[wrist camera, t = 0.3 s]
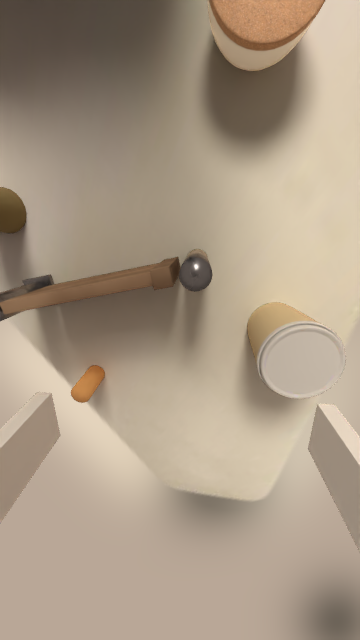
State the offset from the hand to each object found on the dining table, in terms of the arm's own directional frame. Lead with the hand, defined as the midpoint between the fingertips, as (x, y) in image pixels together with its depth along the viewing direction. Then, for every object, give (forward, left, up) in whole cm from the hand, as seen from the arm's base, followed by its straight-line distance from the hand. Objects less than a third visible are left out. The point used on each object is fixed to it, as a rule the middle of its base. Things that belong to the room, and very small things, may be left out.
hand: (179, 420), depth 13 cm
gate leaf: (-5, -11, -26) cm, 28 cm away
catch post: (+10, -19, -27) cm, 34 cm away
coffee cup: (+7, +11, -27) cm, 30 cm away
